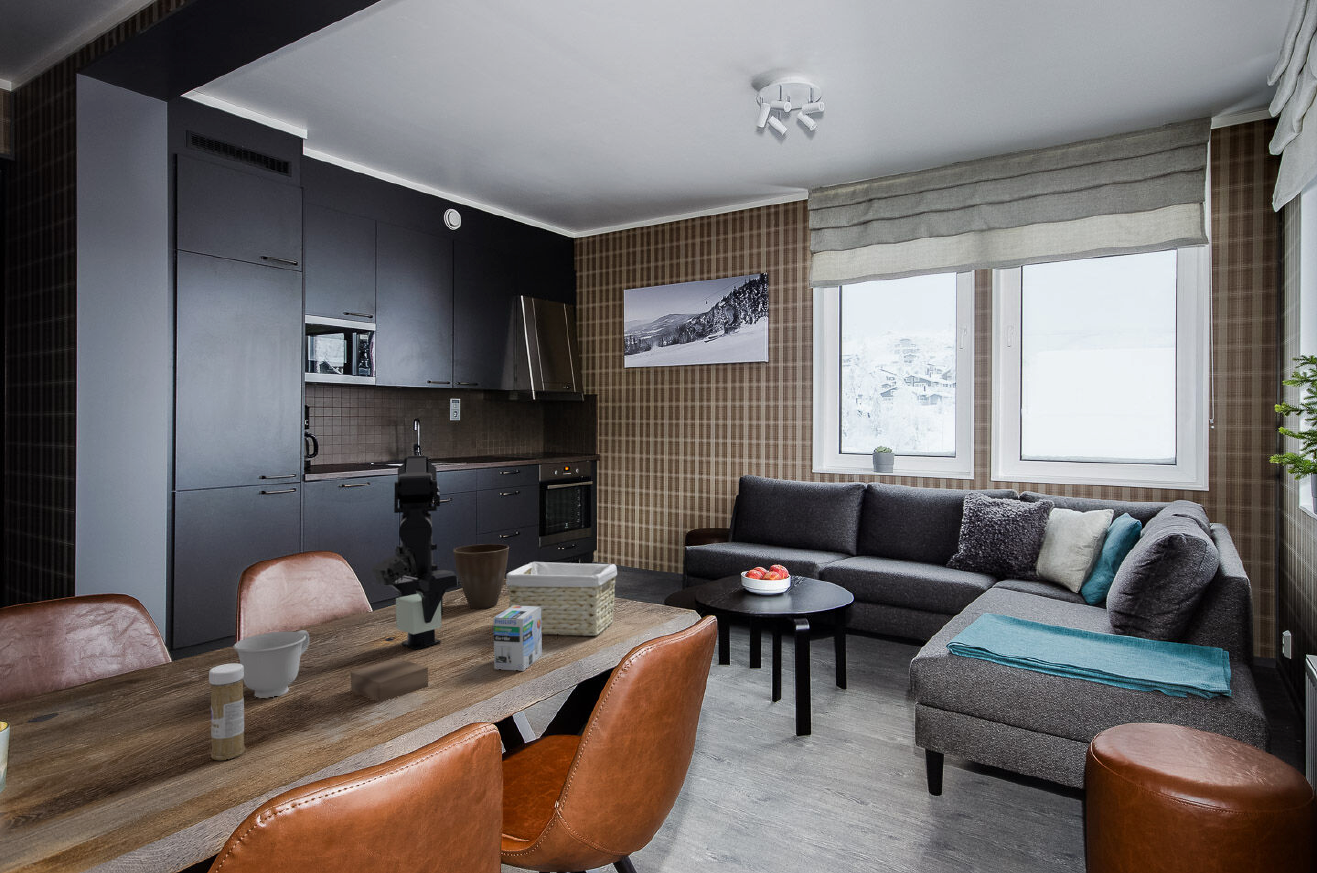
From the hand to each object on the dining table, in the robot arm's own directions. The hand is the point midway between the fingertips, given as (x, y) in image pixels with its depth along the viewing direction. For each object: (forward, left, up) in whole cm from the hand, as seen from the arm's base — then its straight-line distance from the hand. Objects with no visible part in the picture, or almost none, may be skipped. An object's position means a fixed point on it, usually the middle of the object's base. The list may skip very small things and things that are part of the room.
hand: (418, 620), depth 141 cm
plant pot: (-42, +44, -12) cm, 61 cm away
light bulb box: (+5, +20, -12) cm, 24 cm away
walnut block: (-2, -5, -13) cm, 14 cm away
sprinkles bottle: (+5, -35, -12) cm, 38 cm away
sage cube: (0, 0, -2) cm, 2 cm away
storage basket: (-7, +43, -13) cm, 45 cm away
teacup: (-18, -19, -12) cm, 29 cm away
